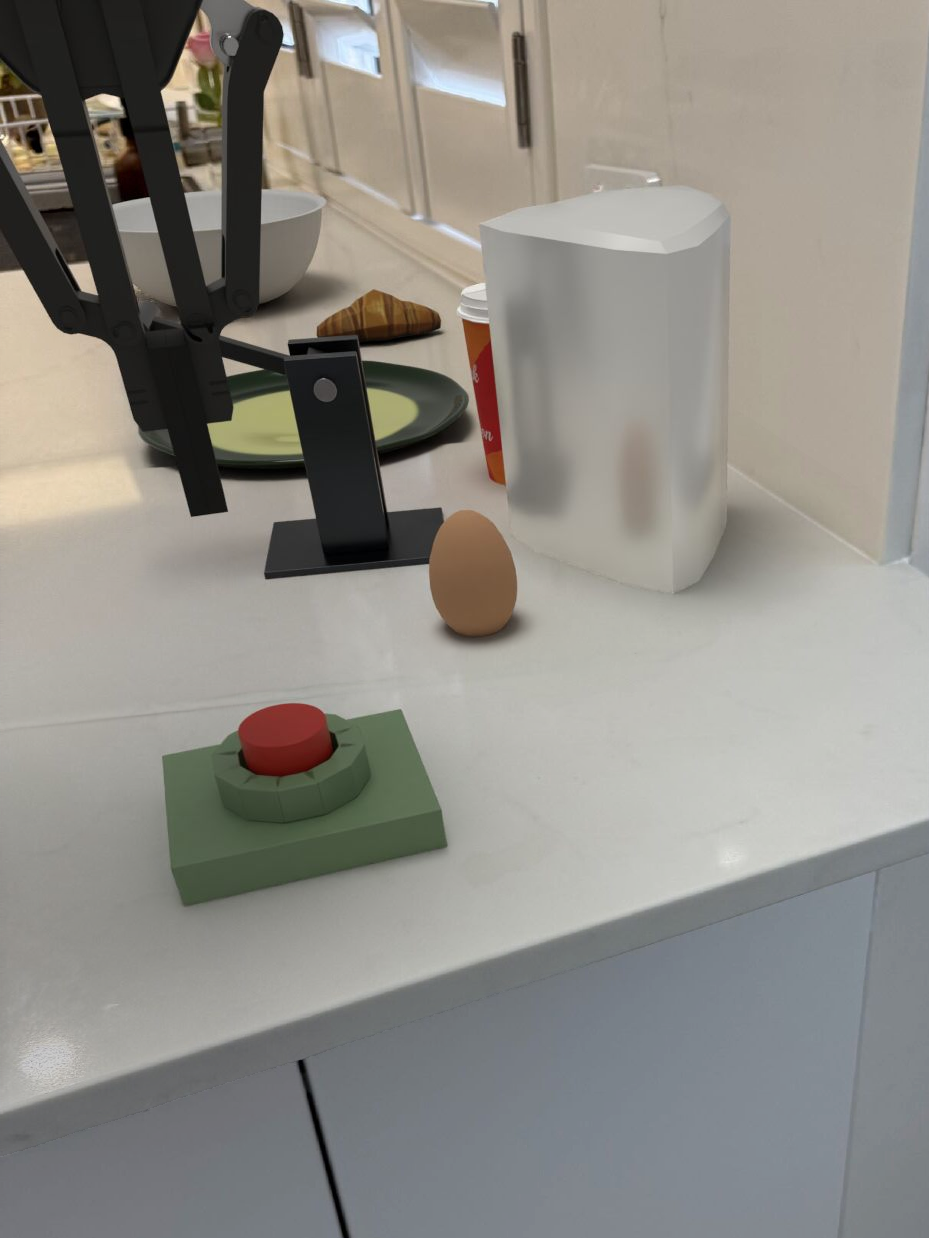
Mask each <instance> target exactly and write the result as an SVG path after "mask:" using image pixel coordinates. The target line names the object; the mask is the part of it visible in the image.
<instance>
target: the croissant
mask: <svg viewBox="0 0 929 1238" xmlns="http://www.w3.org/2000/svg"><path fill="white" fill-rule="evenodd" d="M441 328H442V319H441V316H440V313H439V311H435V310H434V309H432V308H430V307H428V306H425V305H422V304H419V303H416V302H412V301H409V300H408V301H407V300H401V299H400V298H398V297H396V296H394V295H392V294H389V293H386V292H384V291H380V290H377V289H372V290H370V291H368V292H366V293H365V294H364V295H362V296H360V297H358V298H356V299H355V300H354V302H352V303H351V304H350V306H348V307H344V308H342V309H340V310H338V311H337V312H334V314H332V315H329V316H328V317H327V318H325V319H324V320H323V321H322V322H320V323H319V324H318V325H317V326H316V338H320V337H334V336H349V335H358V340H359V343H365V342H383V341H390V340H394V339H398V338H405V337H411V336H418V335H424V334H429V333H432V332H435V331H438V330H440V329H441Z"/></svg>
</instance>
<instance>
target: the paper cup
mask: <svg viewBox="0 0 929 1238" xmlns="http://www.w3.org/2000/svg"><path fill="white" fill-rule="evenodd" d="M459 299H460V304H459V306H458V307H457V309H456V315H457V317H458V318H461V323H462V327H463V333H464V339H465V345H466V351H467V357H468V362H469V369H470V375H471V382H472V386H473V393H474V399H475V406H476V410H477V416H478V421H479V428H480V433H481V434H480V435H481V440H482V445H483V451H484V456H485V462H486V466H487V467H486V468H487V473H488V477H489V479H490V480H491V481H492V482H494V483H497V484H500V485H503V486H506V480H505V471H504V461H503V451H502V442H501V432H500V422H499V412H498V403H497V393H496V383H495V374H494V364H493V354H492V345H491V335H490V325H489V315H488V306H487V296H486V286H485V282H479V283H477V284H472V285H470V286H467V287H465V288H463V290H462V291H461V293H460V298H459Z"/></svg>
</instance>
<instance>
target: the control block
mask: <svg viewBox="0 0 929 1238" xmlns="http://www.w3.org/2000/svg"><path fill="white" fill-rule="evenodd" d="M324 714H325V716H326V720H327V724H328V729H329V733H330V738H331V742H332V747H333V753H332V756H331V758H330V759H329V760H328V761H326V762H324V763H322V764H320V765H318V766H316V767H314V768H312V769H311V770H309V771H307V772H302V773H298V774H293V775H288V776H283V777H276V776H264V775H255V774H254V773H252V772H251V771H250V770H249V769H248V767H247V764H246V761H245V757H244V754H243V750H242V747H241V743H240V740H239V736H238V730H236V731H234V732H232V733H230V734H227V736H226V737H225V738H224V740H223V741H222V742H221V743H220V744H215V745H209V746H204V747H200V748H195V749H189V750H184V751H178V752H174V753H168V754H164V755H162V756H161V759H162V760H161V761H162V773H163V785H164V799H165V800H164V801H165V811H166V825H167V837H168V850H169V862H170V870H171V874H172V876H173V879H174V882H175V885H176V888H177V891H178V894H179V896H180V899H181V902H182V905H183V907H188V906H192V905H198V904H201V903H205V902H210V901H214V900H218V899H223V898H228V897H232V896H237V895H241V894H245V893H250V892H255V891H258V890H262V889H268V888H271V887H276V886H280V885H284V884H289V883H294V882H298V881H302V880H306V879H312V878H316V877H321V876H325V875H329V874H333V873H337V872H341V871H346V870H350V869H354V868H355V869H356V868H359V867H363V866H364V867H365V866H369V865H373V864H377V863H381V862H385V861H390V860H396V859H400V858H403V857H408V856H412V855H416V854H417V855H418V854H421V853H426V852H429V851H434V850H440V849H442V848H447V847H448V841H447V835H446V829H445V823H444V818H443V811H442V807H441V805H440V803H439V800H438V797H437V795H436V793H435V790H434V788H433V785H432V783H431V780H430V778H429V775H428V772H427V770H426V767H425V765H424V763H423V760H422V758H421V754H420V752H419V750H418V747H417V745H416V742H415V740H414V737H413V734H412V732H411V730H410V727H409V725H408V723H407V720H406V717H405V715H404V712H403V710H402V709H401V708H399V709H393V710H388V711H384V712H380V713H378V712H377V713H373V714H367V715H363V716H359V717H358V716H357V717H352V718H347V719H346V718H343V717H341V716H339V715H338V714H335V713H334V714H333V713H324Z"/></svg>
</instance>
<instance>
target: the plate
mask: <svg viewBox="0 0 929 1238" xmlns="http://www.w3.org/2000/svg"><path fill="white" fill-rule="evenodd" d="M362 364H363V370H364V376H365V382H366V388H367V394H368V399H369V405H370V411H371V417H372V423H373V429H374V435H375V441H376V447H377V453H378V455H382V454H385V453H389V452H393V451H395V450H399V449H402V448H406V447H408V446H412V445H413V444H416V443H418V442H421V441H423V440H426V439H427V438H430V437H432V436H434V435H436V434H438V433H440V432H441V431H443V430H445V428H447V427H449V426H450V425H451V424H452V423H453V422H455V421H456V420H457V419H458V418H460V417H461V416H462V415H463V413H464V412H466V410H467V408H468V406H469V403H470V396H469V394H468V392H467V391H466V390H465V388H463V386H462V385H460V384H459V383H458V382H457V381H456V380H454V379H452V377H449V376H447V375H445V374H443V373H440V372H437V371H435V370H430V369H427V368H421V367H417V366H416V367H415V366H411V365H405V364H398V363H391V362H386V361H385V362H384V361H377V360H363V359H362ZM226 376H227V375H226ZM227 381H228V385H229V389H230V394H231V398H232V402H233V407H234V408H233V414H232V420H231V421H225V422H217V423H209V424H207V425H208V429H209V433H210V438H211V442H212V446H213V450H214V454H215V458H216V462H217V466H218V467H223V468H224V467H225V468H234V469H235V468H236V469H254V470H258V469H259V470H263V469H264V470H265V469H266V470H267V469H273V470H274V469H295V468H305V463H304V458H303V453H302V448H301V443H300V439H299V434H298V429H297V424H296V419H295V414H294V410H293V405H292V400H291V395H290V390H289V385H288V381H287V376H286V375H282V374H279V373H275V372H272V371H268V370H265V369H258V370H253V371H247V372H242V373H237V374H232V375H228V376H227ZM137 433H138V436H139V437H140V439H141V440H142V441H143V442H144V443H145V444H147V445H149V446H150V447H152V448H154V449H156V450H159V451H161V452H164V453H166V454H169V455H171V456H174V457H175V455H174V452H173V448H172V444H171V440H170V437H169V433H168V429H162V430H153V431H145V432H142V430H141V429H140V427H139V426H138V425H137Z"/></svg>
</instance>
